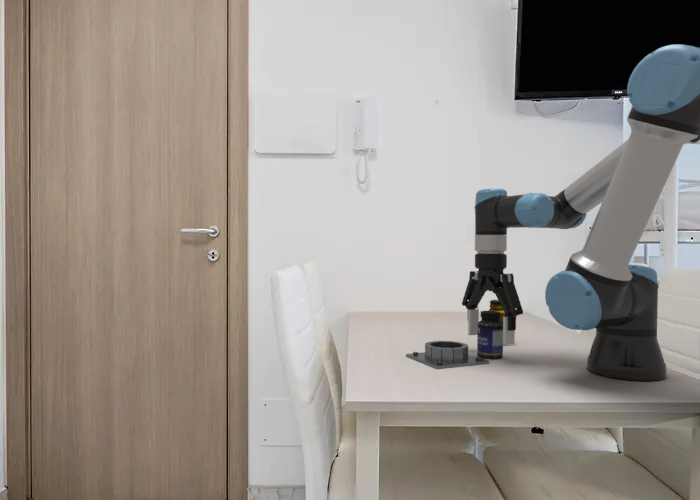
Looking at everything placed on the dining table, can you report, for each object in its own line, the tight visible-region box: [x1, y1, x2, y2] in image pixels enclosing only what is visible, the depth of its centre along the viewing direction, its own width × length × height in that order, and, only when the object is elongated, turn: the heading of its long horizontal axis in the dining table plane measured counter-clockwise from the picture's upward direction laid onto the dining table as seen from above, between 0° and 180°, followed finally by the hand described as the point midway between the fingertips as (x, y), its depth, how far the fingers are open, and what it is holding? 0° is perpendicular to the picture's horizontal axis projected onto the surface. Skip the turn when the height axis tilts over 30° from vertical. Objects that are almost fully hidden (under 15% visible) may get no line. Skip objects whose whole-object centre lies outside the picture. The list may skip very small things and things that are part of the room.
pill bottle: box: [476, 310, 504, 360], centre depth 128 cm, size 6×6×11 cm
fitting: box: [405, 340, 490, 370], centre depth 124 cm, size 14×14×4 cm
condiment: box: [488, 299, 517, 346], centre depth 146 cm, size 7×8×12 cm
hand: (490, 339), depth 128 cm, fingers open, 13 cm apart
